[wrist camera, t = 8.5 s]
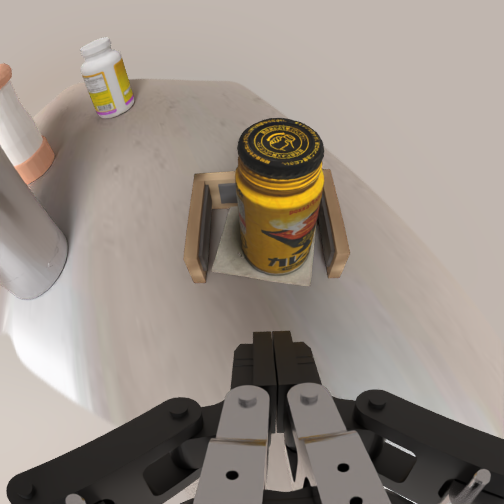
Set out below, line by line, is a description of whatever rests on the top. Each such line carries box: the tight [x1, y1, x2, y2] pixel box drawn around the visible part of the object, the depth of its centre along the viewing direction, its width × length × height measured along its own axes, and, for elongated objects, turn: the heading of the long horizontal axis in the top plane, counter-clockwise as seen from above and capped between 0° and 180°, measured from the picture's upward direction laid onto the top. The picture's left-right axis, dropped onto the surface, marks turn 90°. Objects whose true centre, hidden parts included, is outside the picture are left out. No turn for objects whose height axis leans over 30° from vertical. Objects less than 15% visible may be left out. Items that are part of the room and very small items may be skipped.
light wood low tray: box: [183, 169, 350, 283], centre depth 26 cm, size 12×9×4 cm
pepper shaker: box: [0, 64, 55, 184], centre depth 29 cm, size 7×7×19 cm
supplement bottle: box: [80, 37, 134, 118], centre depth 38 cm, size 7×7×13 cm
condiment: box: [211, 118, 324, 286], centre depth 23 cm, size 7×8×12 cm
